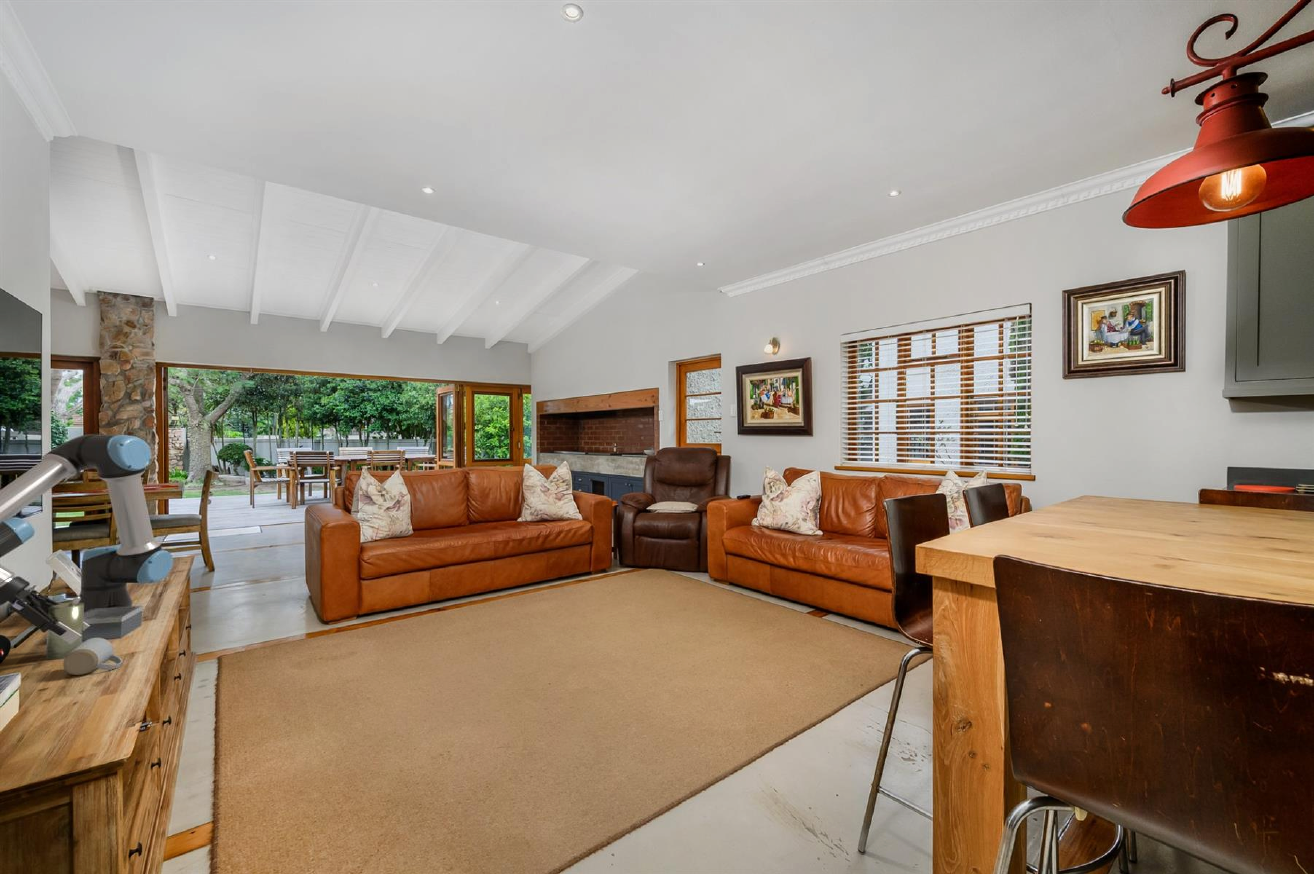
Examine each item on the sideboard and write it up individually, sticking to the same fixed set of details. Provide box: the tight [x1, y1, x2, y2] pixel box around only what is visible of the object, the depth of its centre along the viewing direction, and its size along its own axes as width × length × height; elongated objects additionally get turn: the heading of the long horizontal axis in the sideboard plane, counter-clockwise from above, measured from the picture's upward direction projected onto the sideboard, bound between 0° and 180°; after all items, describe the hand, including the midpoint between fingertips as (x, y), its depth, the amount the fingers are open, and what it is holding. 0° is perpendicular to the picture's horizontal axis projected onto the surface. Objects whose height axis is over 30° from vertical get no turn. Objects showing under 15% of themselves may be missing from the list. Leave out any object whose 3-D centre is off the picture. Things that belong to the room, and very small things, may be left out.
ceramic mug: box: [63, 638, 123, 676], centre depth 149 cm, size 11×8×8 cm
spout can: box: [45, 595, 84, 661], centre depth 159 cm, size 7×7×16 cm
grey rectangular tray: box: [82, 605, 143, 642], centre depth 178 cm, size 16×13×6 cm
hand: (80, 634), depth 161 cm, fingers open, 9 cm apart
